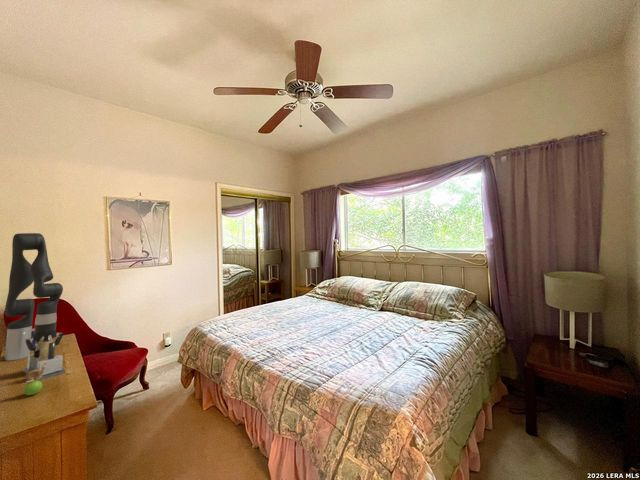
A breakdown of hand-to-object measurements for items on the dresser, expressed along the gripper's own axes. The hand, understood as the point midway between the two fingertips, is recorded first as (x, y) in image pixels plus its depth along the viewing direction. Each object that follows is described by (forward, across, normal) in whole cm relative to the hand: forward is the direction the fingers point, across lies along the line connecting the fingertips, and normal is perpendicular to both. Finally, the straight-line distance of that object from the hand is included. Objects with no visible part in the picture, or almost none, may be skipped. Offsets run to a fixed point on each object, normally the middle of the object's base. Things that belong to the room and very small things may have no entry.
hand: (43, 356), depth 129 cm
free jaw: (+6, 0, -9) cm, 11 cm away
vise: (+8, 0, -2) cm, 8 cm away
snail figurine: (+8, -9, -26) cm, 29 cm away
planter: (+8, +12, +50) cm, 52 cm away
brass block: (+2, 0, 0) cm, 2 cm away
